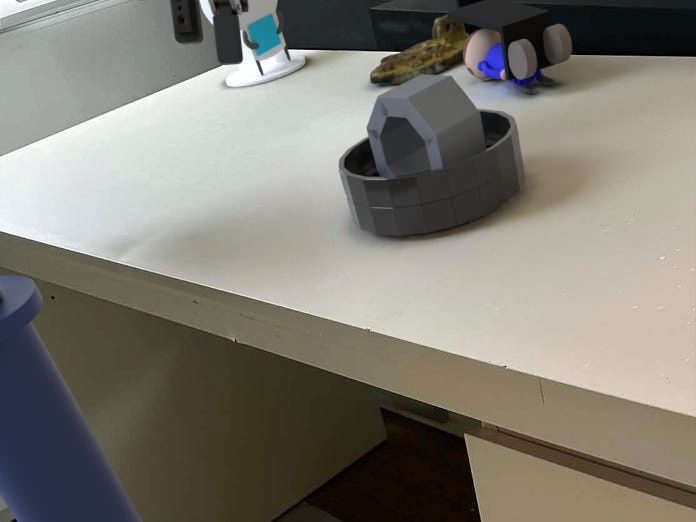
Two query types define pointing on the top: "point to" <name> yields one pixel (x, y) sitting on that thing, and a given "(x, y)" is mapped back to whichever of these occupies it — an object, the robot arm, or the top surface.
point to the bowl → (435, 185)
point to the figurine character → (512, 42)
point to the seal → (424, 55)
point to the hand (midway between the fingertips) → (211, 54)
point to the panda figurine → (260, 44)
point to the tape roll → (424, 126)
